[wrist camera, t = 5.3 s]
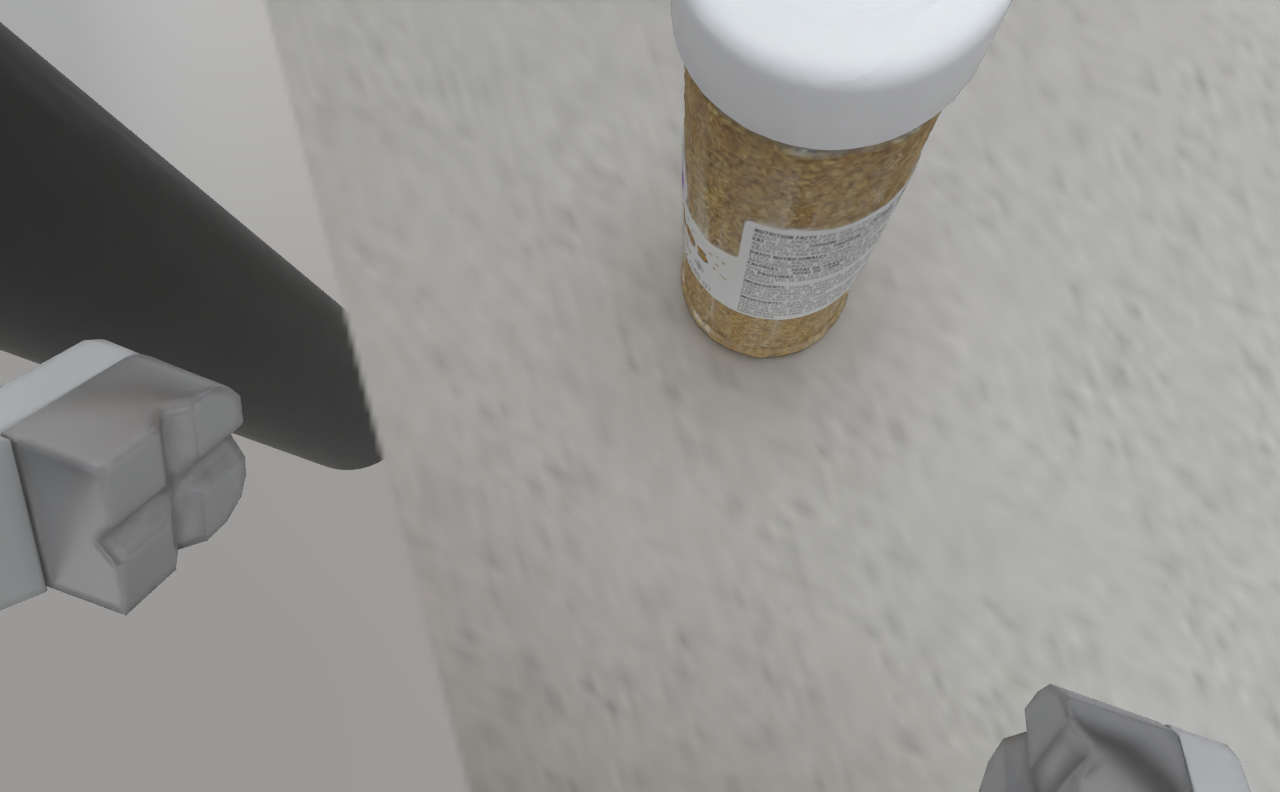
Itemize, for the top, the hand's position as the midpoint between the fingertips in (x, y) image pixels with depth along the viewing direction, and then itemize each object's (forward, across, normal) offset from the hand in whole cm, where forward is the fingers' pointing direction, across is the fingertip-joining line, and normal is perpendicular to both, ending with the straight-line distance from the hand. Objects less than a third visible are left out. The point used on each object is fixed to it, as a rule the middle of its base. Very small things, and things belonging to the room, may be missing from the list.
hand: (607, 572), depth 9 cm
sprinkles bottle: (+16, 0, +4) cm, 17 cm away
